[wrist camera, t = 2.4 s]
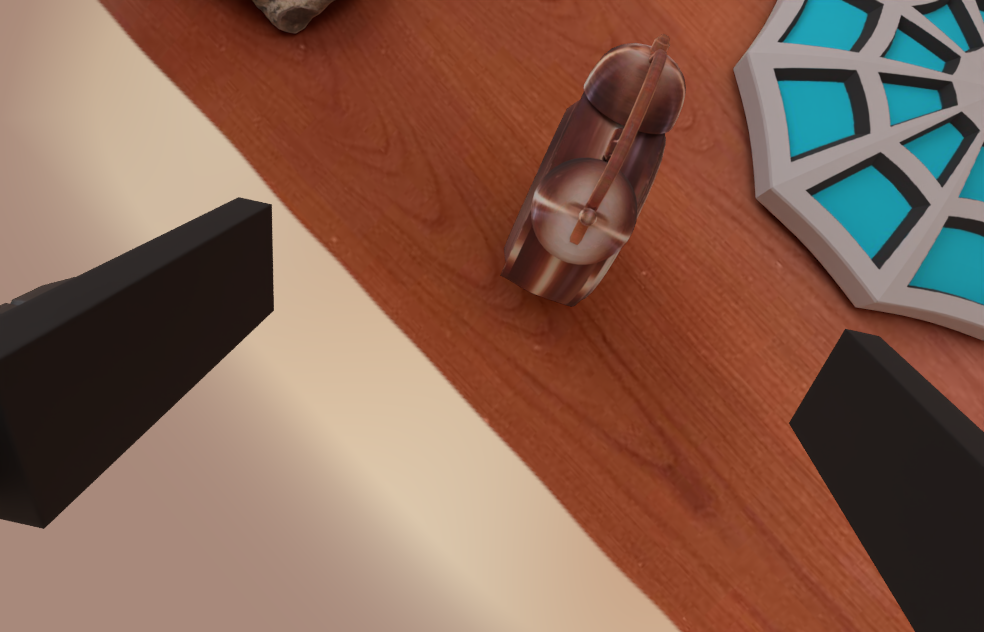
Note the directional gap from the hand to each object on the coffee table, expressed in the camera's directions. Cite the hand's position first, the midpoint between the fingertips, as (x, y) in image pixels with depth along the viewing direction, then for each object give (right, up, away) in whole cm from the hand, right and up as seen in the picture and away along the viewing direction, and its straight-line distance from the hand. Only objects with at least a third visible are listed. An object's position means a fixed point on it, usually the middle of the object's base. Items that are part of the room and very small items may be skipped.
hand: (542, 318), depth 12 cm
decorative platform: (+30, +13, +25) cm, 42 cm away
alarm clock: (+3, +5, +21) cm, 22 cm away
